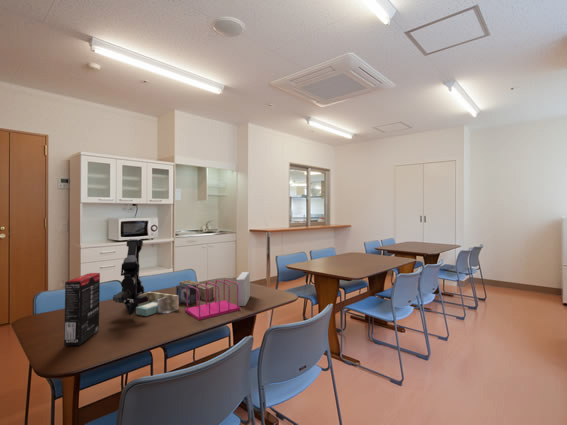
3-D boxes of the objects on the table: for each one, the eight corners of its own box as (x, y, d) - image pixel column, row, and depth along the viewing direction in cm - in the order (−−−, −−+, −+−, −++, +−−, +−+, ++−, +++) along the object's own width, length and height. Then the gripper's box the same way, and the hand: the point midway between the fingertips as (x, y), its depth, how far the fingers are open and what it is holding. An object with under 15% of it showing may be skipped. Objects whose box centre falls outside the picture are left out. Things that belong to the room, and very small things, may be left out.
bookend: (157, 312, 167) (157, 299, 167) (166, 308, 174) (166, 296, 174) (167, 314, 165) (167, 301, 165) (176, 310, 171) (176, 297, 171)
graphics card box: (85, 331, 142) (84, 272, 142) (101, 330, 143) (100, 272, 142) (63, 347, 125) (62, 281, 125) (81, 346, 126) (81, 280, 126)
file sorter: (184, 312, 168) (184, 283, 168) (224, 303, 184) (224, 277, 184) (198, 320, 155) (198, 289, 155) (240, 310, 171) (240, 282, 171)
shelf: (137, 309, 173) (137, 295, 173) (149, 305, 180) (149, 291, 180) (167, 314, 164) (167, 299, 164) (178, 309, 172) (178, 295, 172)
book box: (136, 314, 165) (135, 307, 165) (154, 308, 176) (154, 301, 176) (146, 316, 161) (146, 309, 161) (164, 310, 172) (164, 303, 172)
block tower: (214, 299, 195) (189, 290, 213) (215, 286, 194) (189, 278, 213) (204, 302, 189) (179, 293, 207) (204, 289, 188) (179, 280, 207)
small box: (175, 303, 184) (175, 285, 184) (182, 300, 190) (182, 283, 190) (189, 305, 180) (189, 287, 180) (196, 301, 186) (196, 284, 186)
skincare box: (242, 296, 199) (242, 271, 199) (250, 296, 199) (250, 271, 199) (236, 306, 178) (235, 279, 178) (245, 306, 178) (245, 279, 178)
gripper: (103, 286, 154) (103, 317, 154) (130, 289, 148) (130, 322, 148) (122, 282, 165) (122, 311, 165) (148, 284, 158) (148, 314, 158)
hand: (130, 314), depth 158 cm, fingers closed
